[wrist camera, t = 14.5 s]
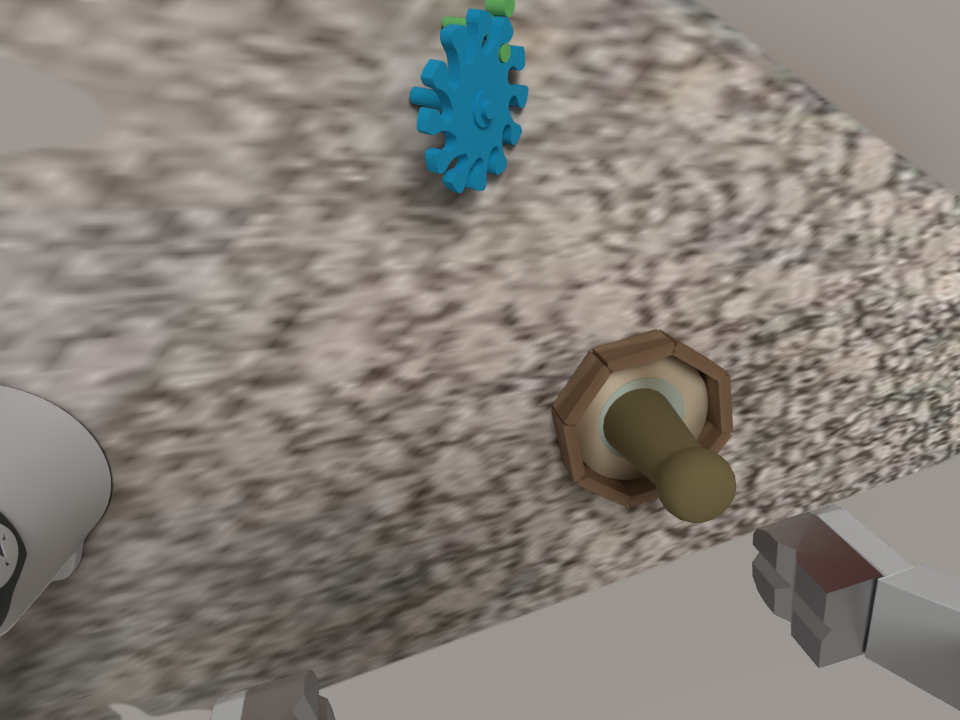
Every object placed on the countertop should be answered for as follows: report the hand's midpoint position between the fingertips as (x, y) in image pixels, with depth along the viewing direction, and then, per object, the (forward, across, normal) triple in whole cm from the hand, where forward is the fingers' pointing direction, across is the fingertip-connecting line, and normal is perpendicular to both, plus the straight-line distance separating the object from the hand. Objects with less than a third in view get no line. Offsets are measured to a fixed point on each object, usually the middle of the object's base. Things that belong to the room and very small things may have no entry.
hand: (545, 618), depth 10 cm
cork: (+31, -15, +19) cm, 39 cm away
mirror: (+32, -15, +19) cm, 40 cm away
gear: (+34, -6, -7) cm, 35 cm away
